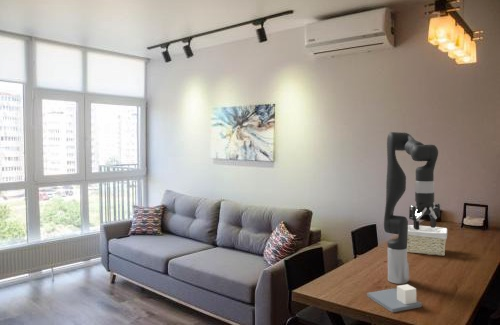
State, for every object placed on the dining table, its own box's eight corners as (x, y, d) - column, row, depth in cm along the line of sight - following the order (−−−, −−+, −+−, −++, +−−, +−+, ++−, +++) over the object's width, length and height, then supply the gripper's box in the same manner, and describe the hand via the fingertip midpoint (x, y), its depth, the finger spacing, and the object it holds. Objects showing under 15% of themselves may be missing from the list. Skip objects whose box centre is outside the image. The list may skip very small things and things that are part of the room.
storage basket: (447, 250, 243) (447, 227, 242) (447, 257, 229) (447, 233, 228) (406, 246, 254) (406, 224, 253) (404, 253, 240) (404, 229, 239)
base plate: (394, 291, 182) (394, 288, 182) (421, 306, 165) (421, 303, 165) (366, 296, 178) (366, 293, 177) (392, 312, 160) (392, 309, 160)
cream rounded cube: (407, 297, 171) (407, 284, 171) (416, 302, 166) (416, 288, 165) (396, 299, 170) (396, 285, 169) (405, 304, 164) (405, 290, 164)
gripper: (431, 189, 171) (431, 225, 172) (404, 191, 167) (405, 228, 168) (444, 191, 164) (444, 228, 165) (417, 193, 160) (417, 232, 161)
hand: (424, 228), depth 166 cm, fingers open, 8 cm apart
